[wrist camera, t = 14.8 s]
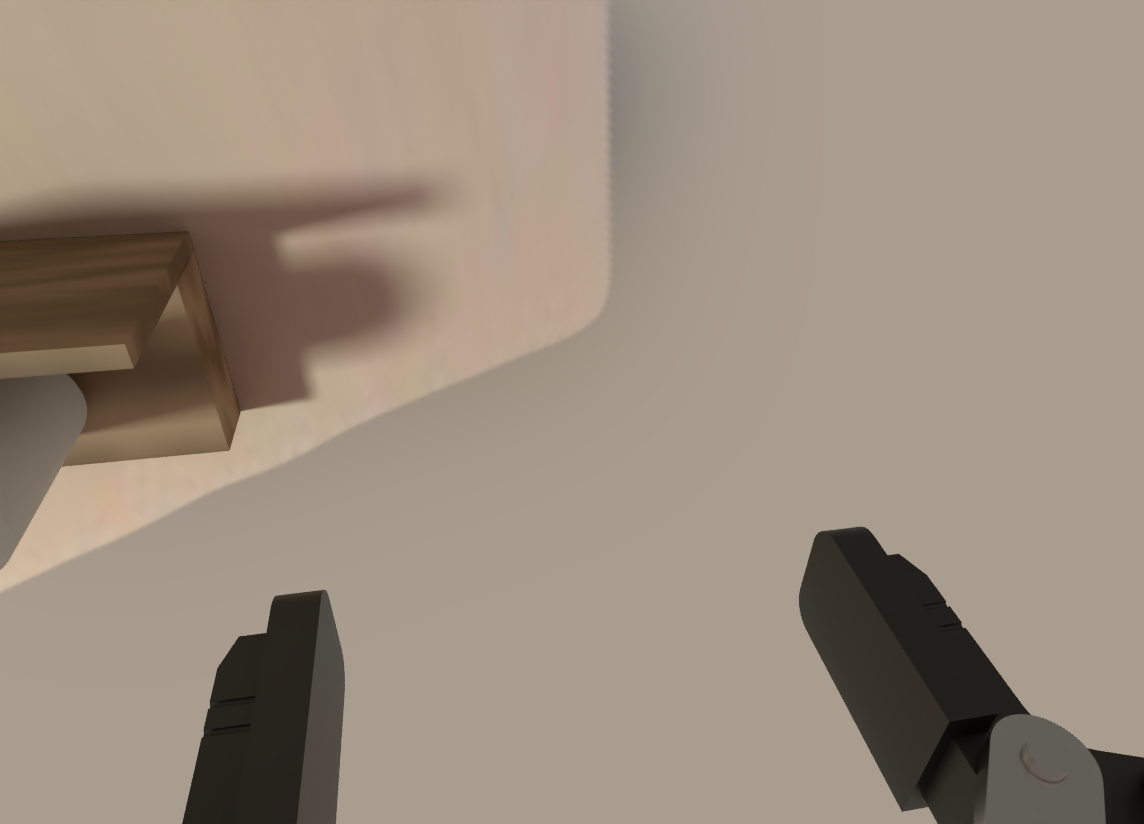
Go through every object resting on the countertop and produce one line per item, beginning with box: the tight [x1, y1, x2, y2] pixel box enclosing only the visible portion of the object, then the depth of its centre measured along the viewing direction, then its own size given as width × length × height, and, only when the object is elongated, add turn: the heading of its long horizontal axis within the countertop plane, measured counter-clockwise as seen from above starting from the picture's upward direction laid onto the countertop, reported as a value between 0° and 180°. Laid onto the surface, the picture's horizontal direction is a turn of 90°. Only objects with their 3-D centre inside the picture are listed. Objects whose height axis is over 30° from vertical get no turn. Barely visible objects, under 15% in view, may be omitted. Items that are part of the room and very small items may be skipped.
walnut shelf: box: [0, 232, 241, 466], centre depth 39 cm, size 12×18×12 cm, turn 89°
